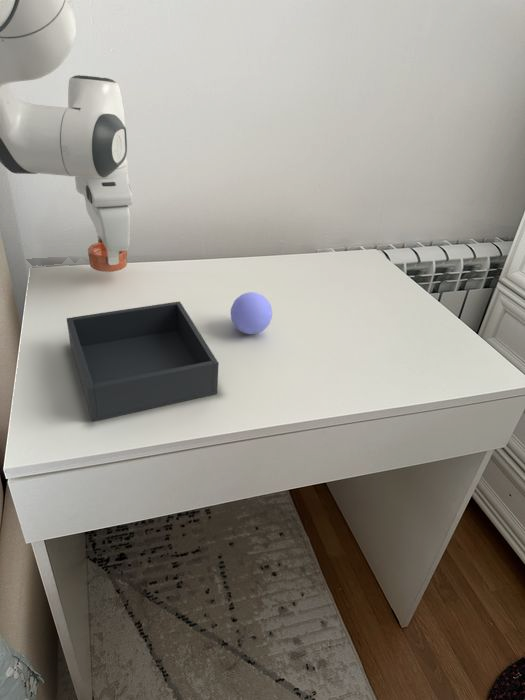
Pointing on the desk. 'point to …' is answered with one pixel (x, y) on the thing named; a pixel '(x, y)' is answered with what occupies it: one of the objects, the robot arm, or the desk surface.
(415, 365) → the desk surface
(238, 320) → the sphere
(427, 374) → the desk surface
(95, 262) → the orange short cylinder
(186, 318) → the tub
